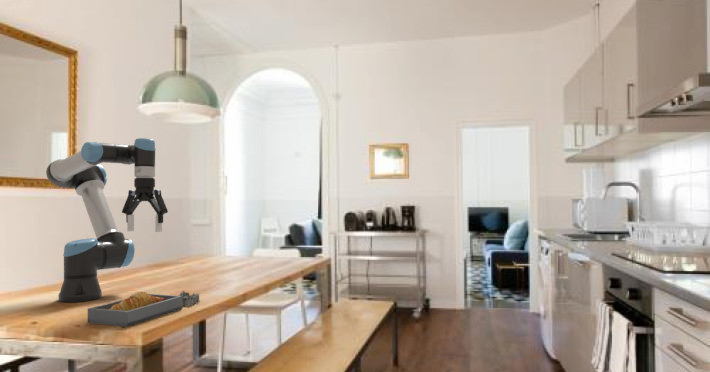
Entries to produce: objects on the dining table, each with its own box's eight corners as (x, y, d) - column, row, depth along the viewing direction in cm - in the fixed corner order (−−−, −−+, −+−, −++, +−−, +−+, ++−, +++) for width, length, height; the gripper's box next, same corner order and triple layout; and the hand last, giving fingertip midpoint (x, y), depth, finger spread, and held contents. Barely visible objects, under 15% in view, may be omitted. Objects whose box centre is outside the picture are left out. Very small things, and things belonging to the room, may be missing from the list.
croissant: (110, 330, 156) (116, 309, 154) (95, 312, 161) (101, 292, 159) (168, 315, 174) (175, 297, 172) (153, 299, 179) (159, 281, 177)
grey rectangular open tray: (87, 322, 157) (87, 308, 157) (146, 305, 182) (146, 293, 182) (127, 326, 152) (127, 312, 152) (182, 308, 177) (182, 296, 177)
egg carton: (183, 300, 192) (183, 290, 192) (202, 300, 192) (202, 290, 192) (171, 306, 181) (171, 295, 182) (191, 306, 181) (191, 295, 181)
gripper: (112, 177, 195) (112, 231, 194) (164, 176, 187) (163, 232, 186) (126, 178, 202) (126, 230, 201) (177, 177, 194) (177, 231, 193)
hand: (144, 231), depth 194 cm, fingers open, 13 cm apart
